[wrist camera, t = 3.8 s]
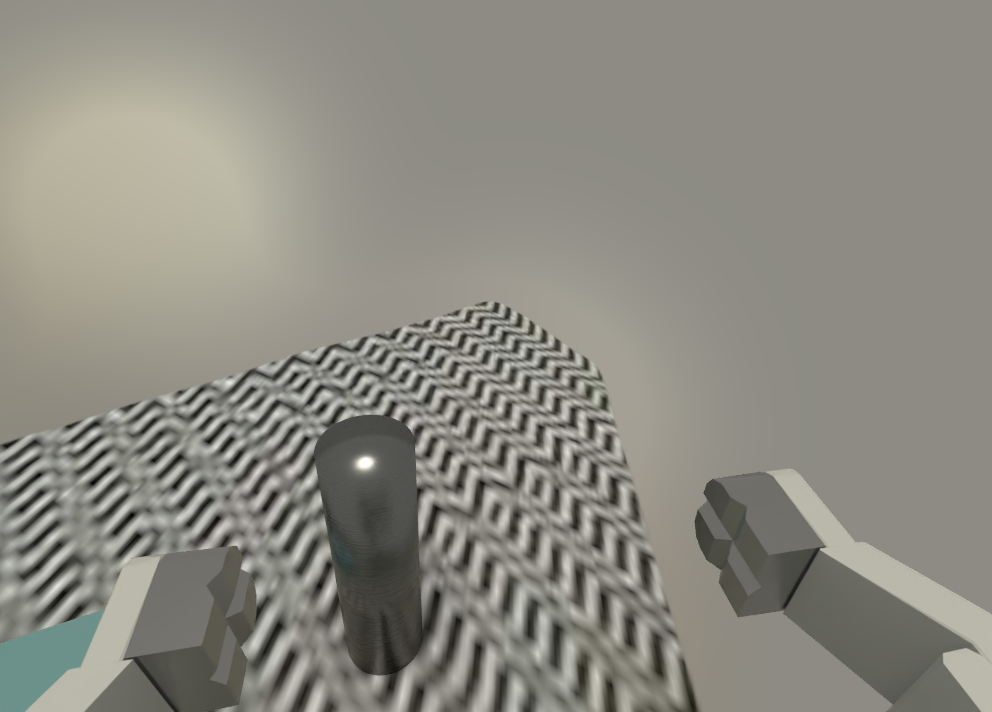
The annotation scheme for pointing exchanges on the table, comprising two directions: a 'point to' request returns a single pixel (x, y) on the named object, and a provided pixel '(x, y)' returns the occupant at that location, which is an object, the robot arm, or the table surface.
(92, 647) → the robot arm
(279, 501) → the table surface
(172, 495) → the table surface
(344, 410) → the table surface
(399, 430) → the steel pin
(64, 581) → the table surface
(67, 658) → the socket block
